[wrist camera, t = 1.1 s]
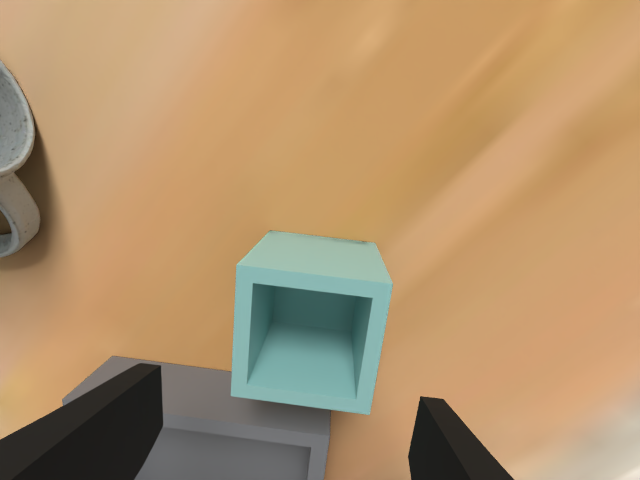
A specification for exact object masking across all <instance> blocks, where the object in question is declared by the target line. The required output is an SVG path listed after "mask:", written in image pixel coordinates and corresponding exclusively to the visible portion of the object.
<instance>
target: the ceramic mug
mask: <svg viewBox="0 0 640 480" xmlns="http://www.w3.org/2000/svg"><path fill="white" fill-rule="evenodd" d="M34 139H35V128H34V121H33V116H32V113H31V110H30V107H29V104H28V102H27V99H26V98H25V96H24V94H23V92H22V90H21V88H20V86H19V85H18V83H17V81H16V79H15V78H14V77H13V75H12V74H11V72H10V71H9V70H8V69H7V67H6V66H5V65H4V64H3V62H2V61H1V60H0V210H1V212H2V213H3V214H4V216H5V217H6V219H7V221H8V223H9V224H10V227H11V230H12V233H9V234H4V235H0V257H4V256H8V255H11V254H13V253H15V252H17V251H19V250H20V249H21V248H22V247H23V246H24V245H25V244H26V243H27V242H28V241H29V240H31V239H32V238H33V237H34V236H35V234H36V233H37V232H38V230H39V226H40V219H41V218H40V215H39V209H38V207H37V205H36V203H35V201H34V199H33V198H32V196H31V195H30V193H29V192H28V190H27V189H26V187H25V186H24V184H23V183H22V182H21V181H20V179H19V178H18V177H17V176H16V174H15V173H14V172H15V171H16V170H18V169H19V168H20V167H21V166H23V165H24V163H25V162H26V160H27V159H28V158H29V156H30V154H31V152H32V149H33V146H34Z"/></svg>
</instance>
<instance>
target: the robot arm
mask: <svg viewBox="0 0 640 480" xmlns="http://www.w3.org/2000/svg"><path fill="white" fill-rule="evenodd" d="M162 427H163V402H162V376H161V365H154V364H146V363H139V364H137V365H135V366H133V367H131V368H129V369H127V370H125V371H123V372H122V373H120V374H118V375H116V376H115V377H113V378H111V379H109V380H108V381H106V382H104V383H102V384H101V385H99V386H97V387H95V388H94V389H92V390H90V391H88V392H87V393H85V394H83V395H81V396H80V397H78V398H76V399H74V400H73V401H71V402H69V403H67V404H66V405H64V406H62V407H60V408H58V409H57V410H55V411H53V412H51V413H50V414H48V415H46V416H44V417H42V418H40V419H38V420H37V421H35V422H33V423H31V424H29V425H27V426H25V427H23V428H21V429H20V430H18V431H16V432H14V433H12V434H10V435H8V436H6V437H5V438H3V439H1V440H0V480H134V479H135V478H136V476H137V474H138V473H139V471H140V470H141V468H142V466H143V465H144V463H145V461H146V459H147V457H148V455H149V453H150V451H151V450H152V448H153V446H154V444H155V442H156V440H157V438H158V436H159V434H160V431H161V429H162ZM408 459H409V466H410V473H411V480H514V479H513V478H512V477H511V476H510V475H509V474H508V472H507V471H506V470H505V469H504V468H503V467H502V466H501V465H500V464H499V463H498V461H497V460H496V459H495V458H494V457H493V456H492V455H491V454H490V452H489V451H488V450H487V449H486V448H485V447H484V446H483V444H482V443H481V442H480V441H479V440H478V439H477V438H476V436H475V435H474V434H473V433H472V432H471V431H470V429H469V428H468V427H467V426H466V425H465V424H464V422H463V421H462V420H461V419H460V418H459V417H458V415H457V414H456V413H455V412H454V411H453V410H452V408H451V407H450V406H449V405H448V404H447V403H446V402H445V400H444V399H439V398H430V397H422V396H420V401H419V406H418V411H417V416H416V421H415V426H414V431H413V435H412V440H411V445H410V450H409V455H408Z"/></svg>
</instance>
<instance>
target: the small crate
mask: <svg viewBox="0 0 640 480" xmlns="http://www.w3.org/2000/svg"><path fill="white" fill-rule="evenodd" d="M392 287H393V283H392V281H391V278H390V276H389V274H388V271H387V269H386V267H385V265H384V262H383V260H382V258H381V255H380V253H379V251H378V249H377V246H376V244H375V243H372V242H363V241H355V240H347V239H338V238H330V237H321V236H313V235H305V234H296V233H288V232H280V231H271V230H270V231H269V232H268V233H267V234H266V235H265V236H264V237H263V238H262V239H261V240H260V241H259V242H258V243H257V244H256V245H255V246H254V247H253V248H252V249H251V250H250V251H249V252H248V254H247V255H246V256H245V257H244V258H243V259H242V260H241V261H240V262H239V263H238V264H237V266H236V288H235V311H234V333H233V355H232V378H231V396H234V397H241V398H248V399H256V400H263V401H271V402H278V403H285V404H293V405H300V406H308V407H315V408H322V409H330V410H337V411H345V412H352V413H359V414H367V415H370V410H371V404H372V399H373V393H374V388H375V382H376V376H377V371H378V365H379V360H380V354H381V348H382V343H383V337H384V332H385V326H386V320H387V315H388V309H389V304H390V298H391V292H392Z"/></svg>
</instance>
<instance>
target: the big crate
mask: <svg viewBox="0 0 640 480" xmlns="http://www.w3.org/2000/svg"><path fill="white" fill-rule="evenodd" d="M139 363H146V364H154V365H161V376H162V402H163V427H162V429H161V431H160V434H159V436H158V438H157V440H156V442H155V444H154V446H153V448H152V450H151V451H150V453H149V455H148V457H147V459H146V461H145V463H144V465H143V466H142V468H141V470H140V471H139V473H138V474H137V476H136V478H135V479H134V480H324V474H325V467H326V460H327V453H328V446H329V439H330V417H331V410H330V409H322V408H315V407H308V406H300V405H293V404H285V403H278V402H271V401H263V400H256V399H248V398H241V397H234V396H231V378H232V372H230V371H222V370H215V369H207V368H200V367H192V366H185V365H177V364H170V363H162V362H155V361H147V360H140V359H132V358H125V357H117V356H112V357H111V358H109V359H108V360H107V361H106V362H105V363H104V364H102V365H101V366H100V367H99V368H98V369H97V370H96V371H94V372H93V373H92V374H91V375H90V376H89V377H87V378H86V379H85V380H84V381H83V382H82V383H81V384H79V385H78V386H77V387H76V388H75V389H74V390H72V391H71V392H70V393H69V394H68V395H67V396H66V397H64V398H63V399H62V402H63V406H64V405H66V404H67V403H69V402H71V401H73V400H74V399H76V398H78V397H80V396H81V395H83V394H85V393H87V392H88V391H90V390H92V389H94V388H95V387H97V386H99V385H101V384H102V383H104V382H106V381H108V380H109V379H111V378H113V377H115V376H116V375H118V374H120V373H122V372H123V371H125V370H127V369H129V368H131V367H133V366H135V365H137V364H139Z"/></svg>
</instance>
